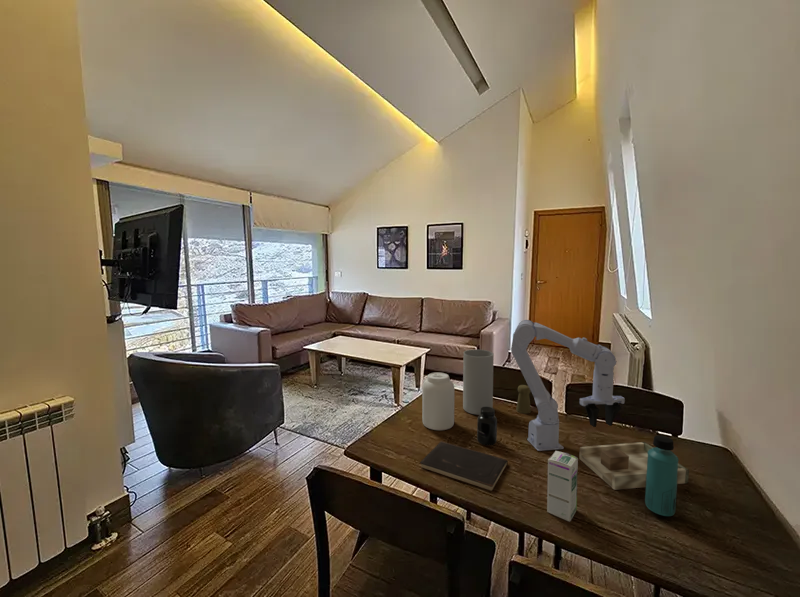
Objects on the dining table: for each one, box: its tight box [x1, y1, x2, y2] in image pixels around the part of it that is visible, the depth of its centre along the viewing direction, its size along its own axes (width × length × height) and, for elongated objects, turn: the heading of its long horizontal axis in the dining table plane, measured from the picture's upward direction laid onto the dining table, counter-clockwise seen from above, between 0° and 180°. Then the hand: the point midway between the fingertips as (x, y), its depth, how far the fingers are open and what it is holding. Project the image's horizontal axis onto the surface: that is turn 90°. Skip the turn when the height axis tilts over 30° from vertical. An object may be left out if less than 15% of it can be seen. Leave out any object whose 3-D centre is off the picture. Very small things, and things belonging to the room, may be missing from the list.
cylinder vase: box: [462, 349, 495, 416], centre depth 154 cm, size 12×12×25 cm
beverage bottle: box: [644, 434, 679, 517], centre depth 90 cm, size 6×7×20 cm
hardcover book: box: [419, 440, 509, 491], centre depth 113 cm, size 16×23×2 cm
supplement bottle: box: [476, 407, 498, 447], centre depth 127 cm, size 7×7×12 cm
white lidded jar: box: [421, 371, 455, 431], centre depth 141 cm, size 12×12×20 cm
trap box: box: [578, 441, 690, 491], centre depth 109 cm, size 23×16×4 cm
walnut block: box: [601, 449, 629, 471], centre depth 108 cm, size 6×4×4 cm, turn 97°
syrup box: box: [546, 450, 579, 523], centre depth 91 cm, size 6×6×14 cm
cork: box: [515, 384, 532, 415], centre depth 153 cm, size 6×6×11 cm
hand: (600, 425), depth 118 cm, fingers open, 5 cm apart
